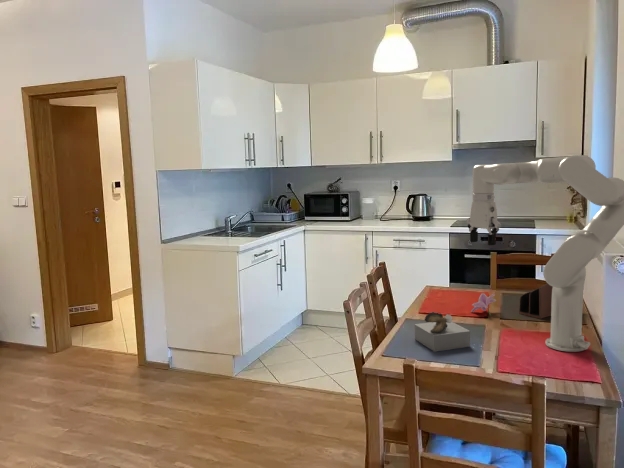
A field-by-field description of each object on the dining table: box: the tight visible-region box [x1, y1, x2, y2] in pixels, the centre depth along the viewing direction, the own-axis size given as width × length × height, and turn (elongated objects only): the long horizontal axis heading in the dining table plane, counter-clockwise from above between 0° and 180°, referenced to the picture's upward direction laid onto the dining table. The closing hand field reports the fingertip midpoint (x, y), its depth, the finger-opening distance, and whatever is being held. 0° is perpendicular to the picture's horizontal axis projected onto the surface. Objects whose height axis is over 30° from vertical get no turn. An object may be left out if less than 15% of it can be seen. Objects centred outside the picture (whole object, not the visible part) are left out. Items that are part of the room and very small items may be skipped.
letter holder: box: [518, 283, 553, 320], centre depth 217 cm, size 10×20×14 cm, turn 123°
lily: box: [470, 292, 497, 317], centre depth 217 cm, size 12×12×10 cm
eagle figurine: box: [424, 311, 453, 334], centre depth 181 cm, size 8×7×9 cm
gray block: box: [414, 321, 471, 352], centre depth 184 cm, size 14×14×6 cm
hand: (482, 243), depth 194 cm, fingers open, 9 cm apart
